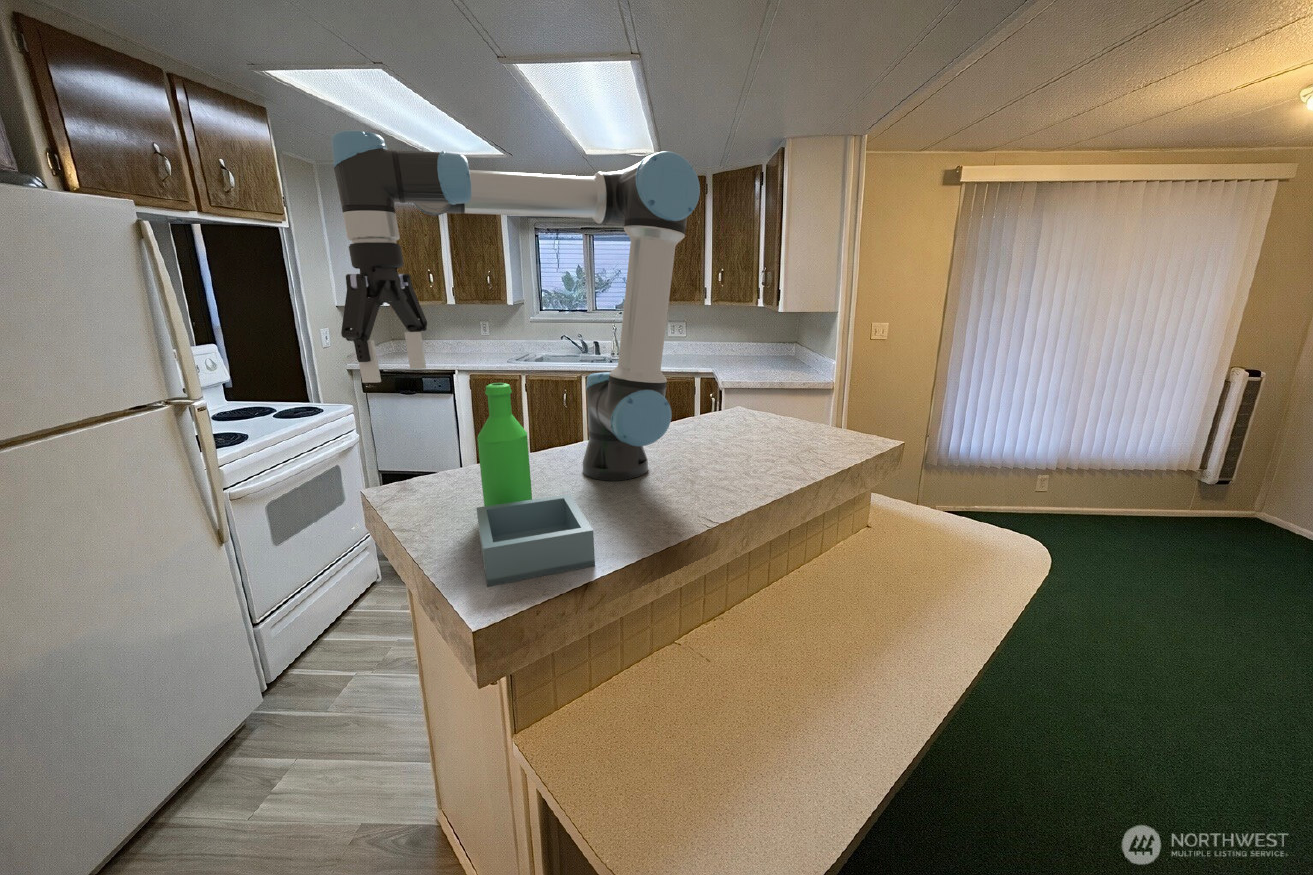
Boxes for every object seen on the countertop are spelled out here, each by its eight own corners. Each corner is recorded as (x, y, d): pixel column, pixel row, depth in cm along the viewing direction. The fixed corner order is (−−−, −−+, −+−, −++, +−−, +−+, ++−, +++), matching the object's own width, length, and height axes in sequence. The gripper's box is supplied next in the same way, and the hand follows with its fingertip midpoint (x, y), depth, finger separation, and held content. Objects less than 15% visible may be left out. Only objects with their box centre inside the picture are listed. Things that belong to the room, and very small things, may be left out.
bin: (572, 524, 99) (570, 493, 97) (594, 565, 84) (593, 530, 83) (479, 540, 93) (476, 507, 92) (487, 586, 79) (483, 548, 77)
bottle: (488, 528, 98) (474, 390, 91) (482, 510, 106) (469, 382, 99) (537, 519, 101) (527, 386, 95) (528, 503, 109) (518, 378, 102)
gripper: (397, 247, 99) (415, 363, 105) (294, 238, 76) (325, 389, 82) (436, 245, 98) (452, 363, 104) (343, 236, 75) (371, 389, 81)
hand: (396, 375), depth 93 cm, fingers open, 13 cm apart
